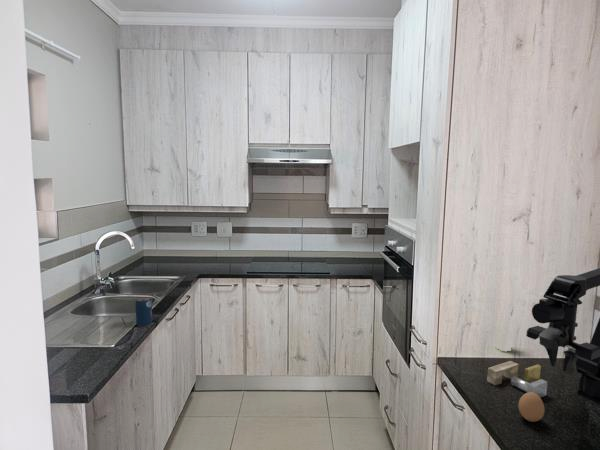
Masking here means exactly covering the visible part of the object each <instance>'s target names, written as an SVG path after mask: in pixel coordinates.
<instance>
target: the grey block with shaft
mask: <svg viewBox="0 0 600 450" xmlns="http://www.w3.org/2000/svg"><path fill="white" fill-rule="evenodd" d="M510 384H511V385H512V387H516V388H517V389H519V390H522V391H524V392H526V393H528V392H533V393H535V394H537V395H538V396H539V397H540V398H543V397H547V392H548V381H546V380H545V379H542V378H540V380H537V381H534V382H532V383H528V382H526V381H524V379H522V378H519V377H515V376H514V377H512V379H510Z"/></svg>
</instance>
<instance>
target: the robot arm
mask: <svg viewBox="0 0 600 450" xmlns="http://www.w3.org/2000/svg"><path fill="white" fill-rule="evenodd" d="M597 287H600V267H598V268H596V269H592V270H590V271H586V272H583V273H580V274H578V275H572V274H571V275H569V274H568V275H567V274H562V275H561V274H560V275H556V276H555V277H554V279H553V280H552V281H551V283H550V284H549V286H548V287H547V290H546V291H545V292H544V293H543V298H540V299H539V301H538V302H537V303H536V304H534V305H533V306H532V308H531V315H532V317H533V319H534V320H535V321H536V322H537V323H539V324H548V323H549V324H548V327H547V328H546V327H542V326H540V325H535V326H532V327H528V328H527V330H526V337H527V338H529V339H532V340H534V341H535V340H537V339H539V345H540V346H543V347H544V348H545V350H546V352H547V355H548V359H549V361H550V365H551V367H556V365H557V358H558V353H559V347H561V348H566V347H567V350H564V351H563V354H564V359H563V365H562V366H563V367H562V369H563V370H562V371H563V372H567V371H568V370H569V368H570V366H571V365H572V364H573V362H575V368H576V373H578V374H581V376H580V377H579V378H578V379H579V380H578V388H577V389H578V390H577V391H576V393H577V394H578V395H581V396H583V397H585V398H588V399H589V400H592V401H594V402H597V403H600V317H599V318H598V321H597V323H596V326H595V329H594V331H593V334H592V337H591V340H590V342H588V341H585V342H584V343H577V342H575V341H576V340H577V336H575V330H576V328H577V327H578V325H579V324H578V322H577V313H578V305H582V304H583V301H582V300H580V298H582V297H584V296H585V295H586V294H587V291H589V290H592V289H594V288H597ZM544 298H545V299H544Z"/></svg>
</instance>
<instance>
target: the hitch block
mask: <svg viewBox="0 0 600 450" xmlns="http://www.w3.org/2000/svg"><path fill="white" fill-rule="evenodd" d="M519 365H520V364H519V363H516V362H515V361H512V360H509V361H506V362H503V363H499V364H496V365H493V366H491V367H488V368H487V376H486V377H487V379H486V382H487V383H490V384H491V385H493V386H497V385H501V384H502V383H503V377H505V378H507V379H508V380H511V379H512V377H514V376H515V377H517V378H519V377H518V376H519Z"/></svg>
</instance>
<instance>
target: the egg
mask: <svg viewBox="0 0 600 450" xmlns="http://www.w3.org/2000/svg"><path fill="white" fill-rule="evenodd" d="M541 398H542V397H541ZM541 398H540V397H539V396H538V395H537V394H535V393H533V392H528V393H527V392H526V393H524V394H522V396H521V397H520V398H519V401H518V411H519V414H520V415H521V416H522V417H523V418H524V420H527V421H528V422H531V423H534V422H538V421H540V420H542V418H543V417H544V415H545V404H544V402H543V399H541Z"/></svg>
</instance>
